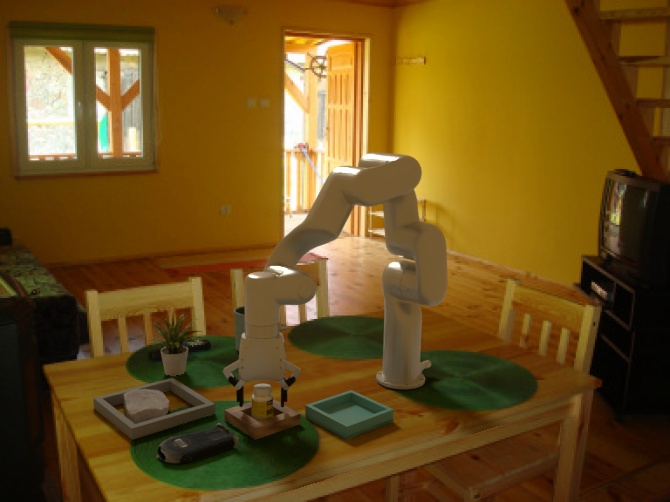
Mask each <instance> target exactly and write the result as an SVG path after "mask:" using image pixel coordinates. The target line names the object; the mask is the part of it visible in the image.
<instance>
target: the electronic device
mask: <svg viewBox="0 0 670 502" xmlns="http://www.w3.org/2000/svg"><path fill="white" fill-rule="evenodd" d="M239 441H240V440H239V436H237V434H235V433H233V432H232V431H231V429H230V428H228V427H227V425H226V426H225V425H223V424H222V423H220V422H219V423H217V424H216V425H215V426H213V427H211V428H205V429H204V430H199V431H195V432H192V433H191V432H190V433H185V434H179V435H174V436H170V437H169V438H167V439H164V440H163V441H162V442H161V443H160V444H159V445H158V446H157V452H156V458H159V459H160V460H162V461H164V462H166V463H169V464H175V465H176V464H177V465H179V464H180V465H182V464H183V465H184V464H188V463H192V462H196V461H199V460H202V459H203V460H204V459H205V458H207V457H208V458H209V457H211V456H214V455H216V454H219V453H222V452H224V451H227V450H228V449H230V448H232V449H237V448H238V445H239ZM234 447H236V448H234ZM162 455H164V457H165V459H163V456H162Z"/></svg>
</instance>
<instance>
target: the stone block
mask: <svg viewBox="0 0 670 502" xmlns="http://www.w3.org/2000/svg"><path fill="white" fill-rule="evenodd" d="M123 398H124V399H123V400H124V403H123V408H124V411H125V417H127V418H128V419H129V420H131V421H132V422H133V423H134V424H137V423H141V422H144V421H148V420H151V419H155V418H158V417H161V416H165V415H168V412H169V409H170V400H169V399H168V398H167V396H166V395H165V393H164V392H163V393H162V392H161V391H158V390H151V389H140V390H139V389H137V390H133V391H129V392H127V393H125V394H124V395H123Z"/></svg>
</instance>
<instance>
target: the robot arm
mask: <svg viewBox="0 0 670 502" xmlns="http://www.w3.org/2000/svg"><path fill="white" fill-rule="evenodd" d="M422 172H423V171H422V166H421V164H420V163H419V161H418V159H416V158H415V157H413V156H411V155H407V154H400V153H390V152H379V151H377V152H375V151H374V152H367V153H365V154H363V155H362V156H360V158H359V160H358V164H357V166H354V165H339V166H337V167H335V168H333V169H332V170H331V171H330V172H329V174H328V176H327V177H326V179H325V181H324V183H323V185H322V187H321V189H320V191H319V192H318V193H317V196H316V198H315V200H314V202H313V204H312V206H311V208H310V209H309V211H308V213H307V215H306V216H305V218H304V219H303V221H302V222H301V223H300V224H298V225H297V226H295V227H294V228H293V229H292V230H291V231H289V233H288V234H286V235H285V236H284V237H283V238H281V240H280V241H279V242H278V243H277V244H276V245H275V247H274V249H273V250H272V252H271V253H270V255H269V258H268V260H267V262H266V263H265V265H264V268H263V270H262V271H255V272H250V273H249V274H247V275H246V277H245V279H244V306H245V333H243V334H242V336H241V341H240V350H239V353H238V359H237V360H235V361H234V362H232V363H231V364H229V365H227V366H225V367H224V368H223V370H222V373H223V375H224V377H225V378H226V379H227V381H228V383H229V384H230V385H232V387H234V390H236V403H239V404H238V406H239V407H243V404H245V403H244V401H245V400H244V399H245V397H244V395H245V391H244V390H245V387H244V384H245V383H246V382H277V383H279V385H280V403H281V407H284V405H285V403H287V402H288V390H289V388H290V387H291V386H292V385H294V384H295V382H296V381H297V379H299V376H300V375H301V373H302V368H300V367H299V366H297V365H296V364H294V363H293V362H291V361H289V360H287V359H286V343H285V338H284V334H283V331H287V324H284V323H282V322H281V320H280V319H281V317H280V316H281V306H300V305H301V306H302V305H305V304H308V303H309V302H310V301H312V300H313V299H314V298H315V296H316V294H317V291H318V290H317V289H318V284H317V281H316V279H315V278H314V276H313V275H311V274H310V273H308V271H307V272H306V271H304V270H301V269H298V268H296V266H297V265H298V264H299V262H300V261H301V259H302V258H303V257H304V256H305V255H306V254H307V253H309V252H310V251H312V250H314V249H315V248H318V247H320V246H324V245H327V244H329V243H332V242H334V241H336V240H337V239H338V238H339V237H340V235H341V232H342V231H343V230H344V227H345V225H346V223H347V221H348V220H349V218H350V215H351V214H352V212H353V210H354V208H355V206H358V207H359V206H360V207H365V208H366V207H367V208H369V207H370V208H371V207H375V206H378V205H382V211H383V212H382V213H383V227H384V228H383V229H384V241H385V247H386V250H387V251H388V253H389V254H391V255H394V256H395V257H399V258H403V259H397V260H393V261H391V262H389V263H388V264H387V265H386V266H385V267H384V268H383V271H382V275H381V290H382V294H383V303H384V319H383V326H384V327H383V345H382V349H383V350H382V351H383V352H382V370H379V371H378V372H377V373H376V377H375V379H376V382H377V383H378V384H379V385H381V386H383V387H386V388H389V389H395V390H414V389H417V388H420V387H422V386H424V384H425V383H426V377H425V375H424V374H423V373H422V372H423V371H424V369H425V370H426V369H429V368H431V366H432V362H431V360H429V359H428V360H424V361H422V362H421V346H422V345H421V344H422V326H423V325H422V322H423V313H422V307H421V306H424V307H435V306H438V305H439V304H440V303H441V302H443V301H444V298H445V297H446V294H447V291H448V279H449V278H448V256H447V255H448V254H447V249H448V248H447V241H446V237H445V234H444V233H443V231H442V230H441V229H440V228H439V227H438V226H436V225H435V224H432V223H428V222H423V221H422V220H421V219H420V216H419V214H420V213H419V204H418V197H417V193H416V191H415V189H417V186H418V185H419V184H420V182H421V179H422V175H423V173H422ZM413 261H414V262H413ZM237 369H238V378H237V377H236V376H235V375H234V374H233V371H235V370H237ZM286 370H288V371H290V372H292V374H291V375H290V376H289V377H288V378H286Z"/></svg>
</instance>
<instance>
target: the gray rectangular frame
mask: <svg viewBox="0 0 670 502" xmlns="http://www.w3.org/2000/svg"><path fill="white" fill-rule="evenodd" d="M137 389H139V390H140V389H151V390H158V391H161V392H162V393H163V394H164V393H167V392H172V393H173V394H175V395H177V396H178V397H179V398H181V399H182V400H184V401H185V402H187V403H188V404H190V405H191V406H192V407H189V408H185V409H182V410H179V411H176V412H175V411H174V412H173V413H169V414H168V413H167V414H166V415H165V416H161V417H158V418H155V419H151V420H148V421H144V422H141V423H137V424H134V423H133V422H132V421H131V420H129V419H128V418H127V416H126V415H124V413H121V411H119V410H118V409H117V408H115V406H118V405H121V404H124V400H123V399H124V398H123V395H124V394H125V393H127V392H129V391H133V390H137ZM92 401H93V409H94V410H96V411H97V412H98V413H99V414H100V415H101V416H103V417H104V418H105V419H106V420H108V421H109V422H110V423H111V424H112V425H113V426H115V427H116V428H117V429H119V431H121V432H122V433H123V434H124V435H126V436H127V437H128V438H129V439H131V440H136V439H139V438H142V437H145V436H146V437H147V436H148V435H152V434H156V433H159V432H163V431H165V429H166V430H168V428H169V429H171V427H172V428H175V427H178V426H177V425H179V426H181V425H180V424H182V425H184V424H183V423H185V424H187V423H186V422H189V421H192V420H194V419H197V418H199V417H203V416H206V415H210V414H214V413H215V414H216V404H215V402H213V401H211V400H210V399H208V398H207V397H204V396H203V395H201V394H200V393H198V392H196V391H194V390H193V389H192V388H190V387H188V386H187V385H185V384H183V383H182V382H181V381H178V380H177V379H175V378H174V377H170V378H167V379H163V380H159V381H158V380H157V381H154V382H151V383H147V384H143V385H139V386H135V387H131V388H127V389H124V390H119V391H114V392H112V393H107V394H104V395H101V396H96V397H93V400H92ZM192 422H193V421H192ZM189 423H190V422H189ZM174 426H175V427H174Z"/></svg>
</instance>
